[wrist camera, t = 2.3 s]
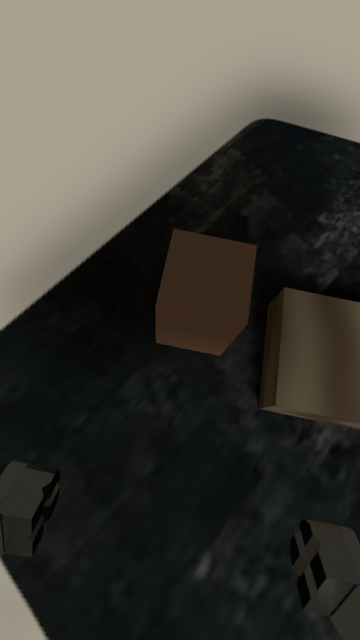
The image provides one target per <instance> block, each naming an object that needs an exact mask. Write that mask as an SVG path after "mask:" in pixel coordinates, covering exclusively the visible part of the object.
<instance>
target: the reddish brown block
mask: <svg viewBox="0 0 360 640" xmlns="http://www.w3.org/2000/svg"><path fill="white" fill-rule="evenodd" d="M256 249H257V245H252V244H247V243H242V242H237V241H232V240H227V239H222V238H218V237H213V236H208V235H203V234H198V233H193V232H188V231H183V230H178V229H173V234H172V238H171V242H170V246H169V250H168V255H167V259H166V263H165V267H164V272H163V276H162V280H161V284H160V288H159V293H158V297H157V301H156V343H160V344H165V345H170V346H175V347H180V348H184V349H189V350H194V351H199V352H204V353H209V354H214V355H219V356H220V355H221V354H222V353H223V352H224V351H225V349H226V348H227V347H228V346H229V345H230V344H231V343H232V341H233V340H234V339H235V338H236V337H237V336H238V335H239V333H240V332H241V331H242V330H243V329H244V328H245V327H246V325H247V324H248V317H249V309H250V300H251V292H252V283H253V275H254V266H255V258H256Z"/></svg>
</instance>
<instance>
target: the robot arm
mask: <svg viewBox="0 0 360 640" xmlns="http://www.w3.org/2000/svg"><path fill="white" fill-rule="evenodd" d="M59 478H60V470H55V469H50V468H46V467H41V466H36V465H32V464H28V463H23V462H18V461H12V462H11V463H10V464H9V465H8V466H7V467H6V469H5V470H4V472H3V473H2V475H1V476H0V557H1V556H2V555H3V554H4V552H5V553H12V554H18V555H24V556H30V557H32V556H33V554H34V552H35V550H36V548H37V546H38V544H39V541H40V539H41V537H42V535H43V525H44V523H45V522H46V521H47V520H49V519H50V518H51V515H52V513H53V511H54V509H55V506H56V503H57V500H58V496H59V488H60V486H59V485H58V484H57V482H58V480H59ZM299 527H300V530H301V531H299V532H296V533H294V535H293V537H292V539H291V545H290V554H291V561H292V565H293V567H294V569H295V570H296V572H297V573H298V574H299V578H298V581H297V587H298V591H299V595H300V599H301V604H302V608H303V610H305V611H309V612H313V613H318V614H322V615H327V616H331V618H330V619H331V620H332V622H333V623H334V625H335V627H336V628H337V630H338V632H339V633H340V635H341V636H342V638H343V640H360V544H359V542H358V539H357V537H356V535H355V533H354V532H353V530H352V529H350V528H347V527H342V526H336V525H333V524H328V523H323V522H317V521H312V520H306V519H305V520H302V521H301V523H300V525H299Z"/></svg>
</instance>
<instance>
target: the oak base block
mask: <svg viewBox="0 0 360 640" xmlns="http://www.w3.org/2000/svg"><path fill="white" fill-rule="evenodd" d="M259 409H262V410H267V411H272V412H277V413H282V414H287V415H292V416H297V417H302V418H307V419H312V420H317V421H322V422H327V423H332V424H336V425H341V426H346V427H351V428H356V429H360V303H359V302H354V301H349V300H344V299H339V298H335V297H330V296H325V295H320V294H315V293H310V292H305V291H300V290H295V289H290V288H285V287H284V288H283V289H282V291H281V292H280V293H279V294H278V295H277V296H276V297H275V298H274V299H273V301H272V302H271V303H270V304H269V305H268V314H267V325H266V336H265V346H264V357H263V368H262V379H261V389H260V400H259Z"/></svg>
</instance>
